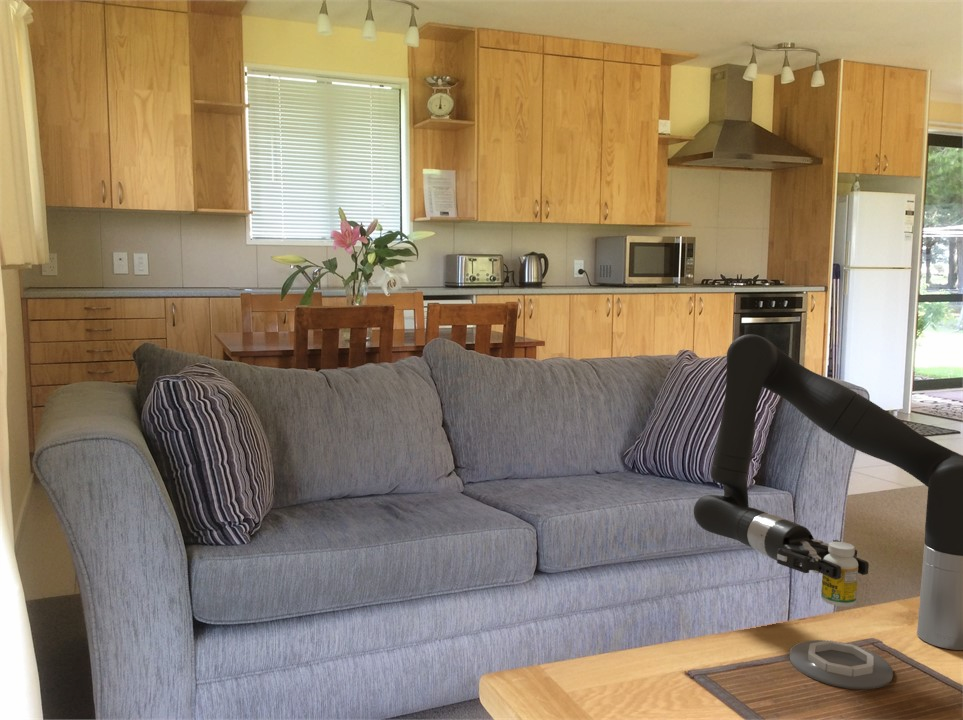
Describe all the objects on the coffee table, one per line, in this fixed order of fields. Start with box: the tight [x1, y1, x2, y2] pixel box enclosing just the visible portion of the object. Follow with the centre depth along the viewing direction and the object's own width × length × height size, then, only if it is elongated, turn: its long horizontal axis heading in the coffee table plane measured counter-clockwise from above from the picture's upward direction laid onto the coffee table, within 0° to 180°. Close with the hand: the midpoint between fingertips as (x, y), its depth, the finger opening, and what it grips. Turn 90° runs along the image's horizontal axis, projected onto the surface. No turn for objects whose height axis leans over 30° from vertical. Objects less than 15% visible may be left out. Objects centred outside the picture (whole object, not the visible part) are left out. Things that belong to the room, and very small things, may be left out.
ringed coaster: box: [789, 639, 894, 690], centre depth 142 cm, size 16×16×2 cm
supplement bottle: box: [820, 541, 859, 608], centre depth 140 cm, size 5×5×10 cm
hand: (852, 571), depth 138 cm, fingers closed on supplement bottle, 5 cm apart
